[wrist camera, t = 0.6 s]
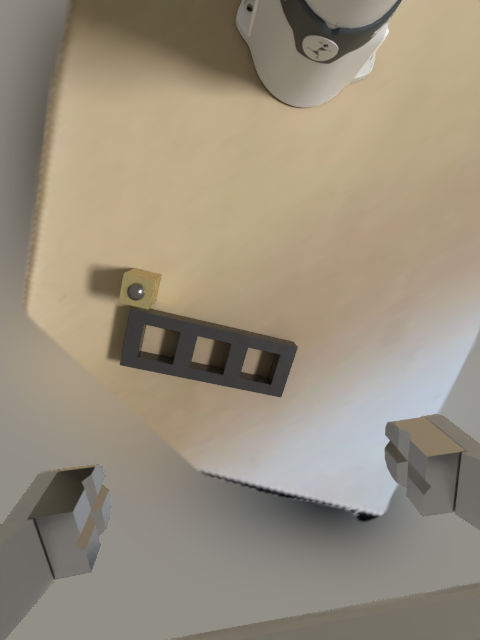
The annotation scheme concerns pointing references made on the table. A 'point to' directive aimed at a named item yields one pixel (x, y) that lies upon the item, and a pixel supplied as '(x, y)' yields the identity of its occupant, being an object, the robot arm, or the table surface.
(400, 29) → the table surface
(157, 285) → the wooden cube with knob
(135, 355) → the grey flat slotted block
